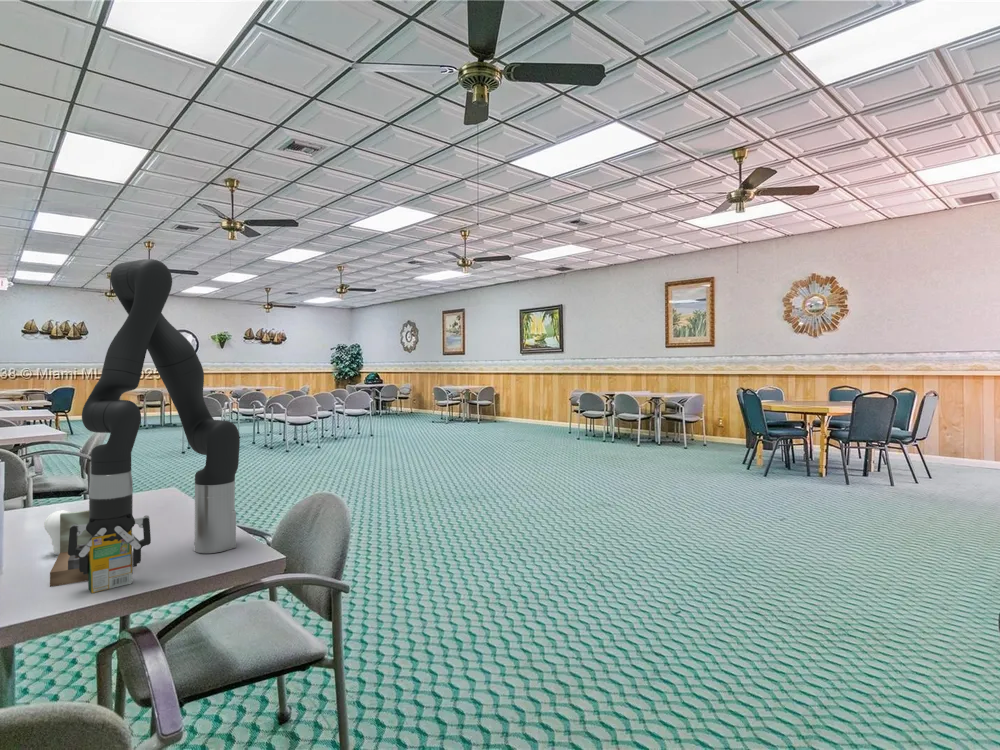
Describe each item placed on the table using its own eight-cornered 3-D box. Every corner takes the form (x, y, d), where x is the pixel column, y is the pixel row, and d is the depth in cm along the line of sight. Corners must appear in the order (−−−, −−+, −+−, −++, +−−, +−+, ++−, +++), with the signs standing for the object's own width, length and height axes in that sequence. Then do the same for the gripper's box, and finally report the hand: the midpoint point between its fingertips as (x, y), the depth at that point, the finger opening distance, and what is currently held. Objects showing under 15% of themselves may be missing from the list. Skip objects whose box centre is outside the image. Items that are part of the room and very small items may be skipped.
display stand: (131, 553, 136) (132, 505, 136) (129, 573, 123) (129, 521, 123) (60, 563, 129) (60, 513, 129) (49, 586, 115) (50, 530, 115)
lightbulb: (65, 549, 139) (66, 506, 139) (81, 552, 137) (81, 509, 137) (38, 557, 133) (38, 512, 133) (54, 560, 131) (54, 514, 131)
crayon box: (128, 580, 120) (128, 527, 119) (132, 583, 118) (132, 530, 117) (87, 590, 114) (87, 534, 114) (91, 593, 112) (91, 537, 112)
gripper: (151, 486, 123) (150, 558, 123) (71, 493, 115) (70, 570, 115) (151, 493, 116) (150, 568, 116) (66, 501, 109) (65, 582, 109)
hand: (110, 569), depth 116 cm, fingers open, 8 cm apart
